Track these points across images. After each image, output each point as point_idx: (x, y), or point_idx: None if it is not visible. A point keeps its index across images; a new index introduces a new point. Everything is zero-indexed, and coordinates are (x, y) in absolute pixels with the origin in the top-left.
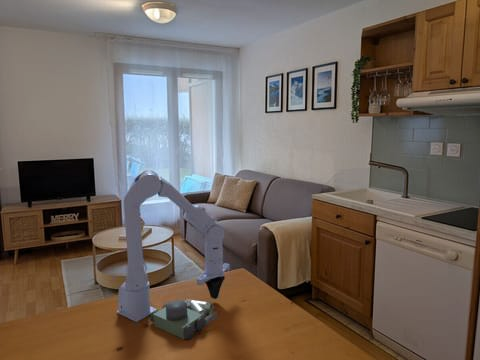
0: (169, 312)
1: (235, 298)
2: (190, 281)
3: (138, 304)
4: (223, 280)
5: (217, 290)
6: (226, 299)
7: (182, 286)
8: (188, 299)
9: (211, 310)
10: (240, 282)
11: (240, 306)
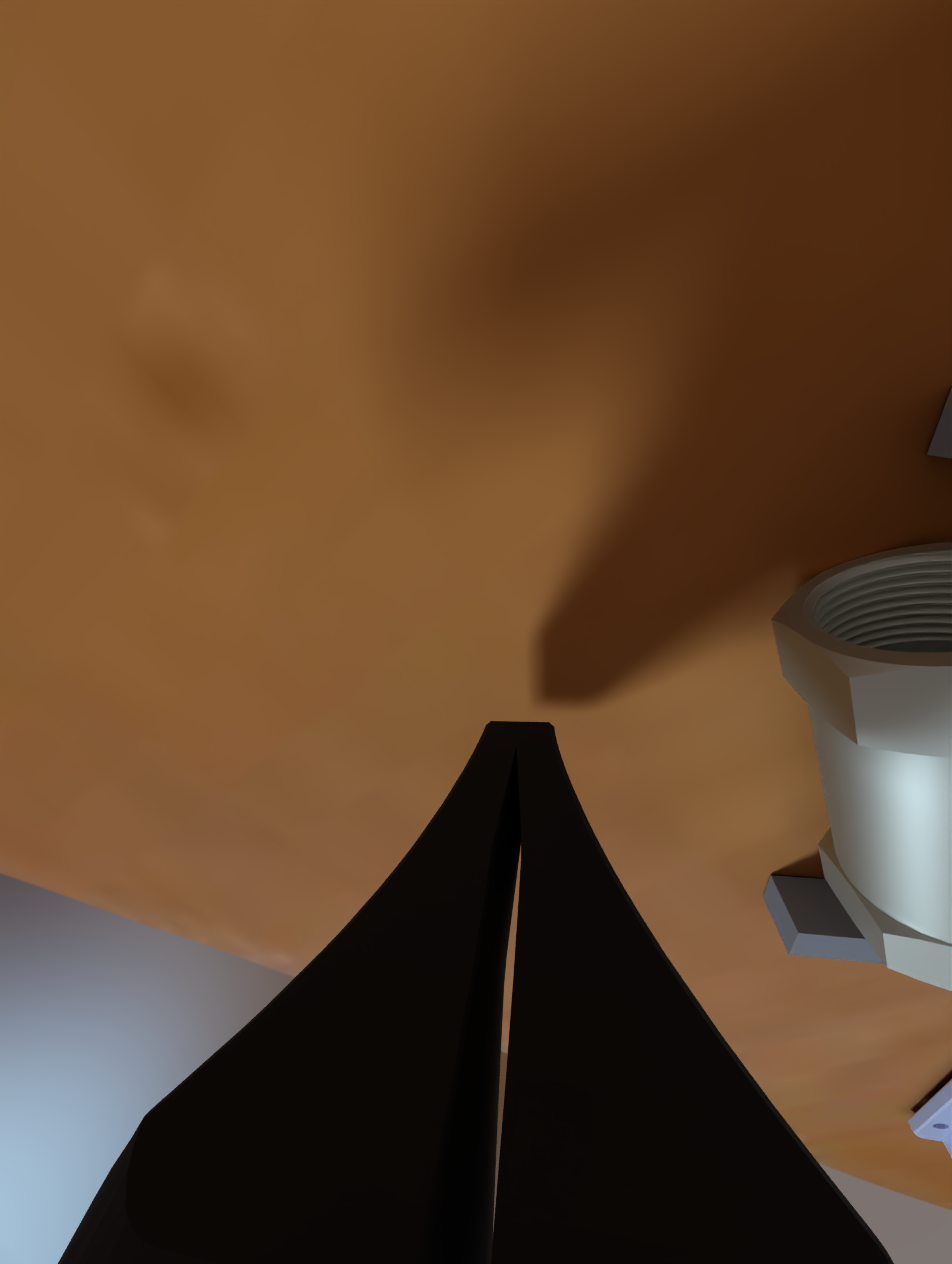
0: None
1: (256, 547)
2: None
3: None
4: (237, 1052)
5: (530, 832)
6: (372, 629)
7: None
8: (948, 985)
9: (818, 595)
10: (4, 725)
11: (356, 278)
